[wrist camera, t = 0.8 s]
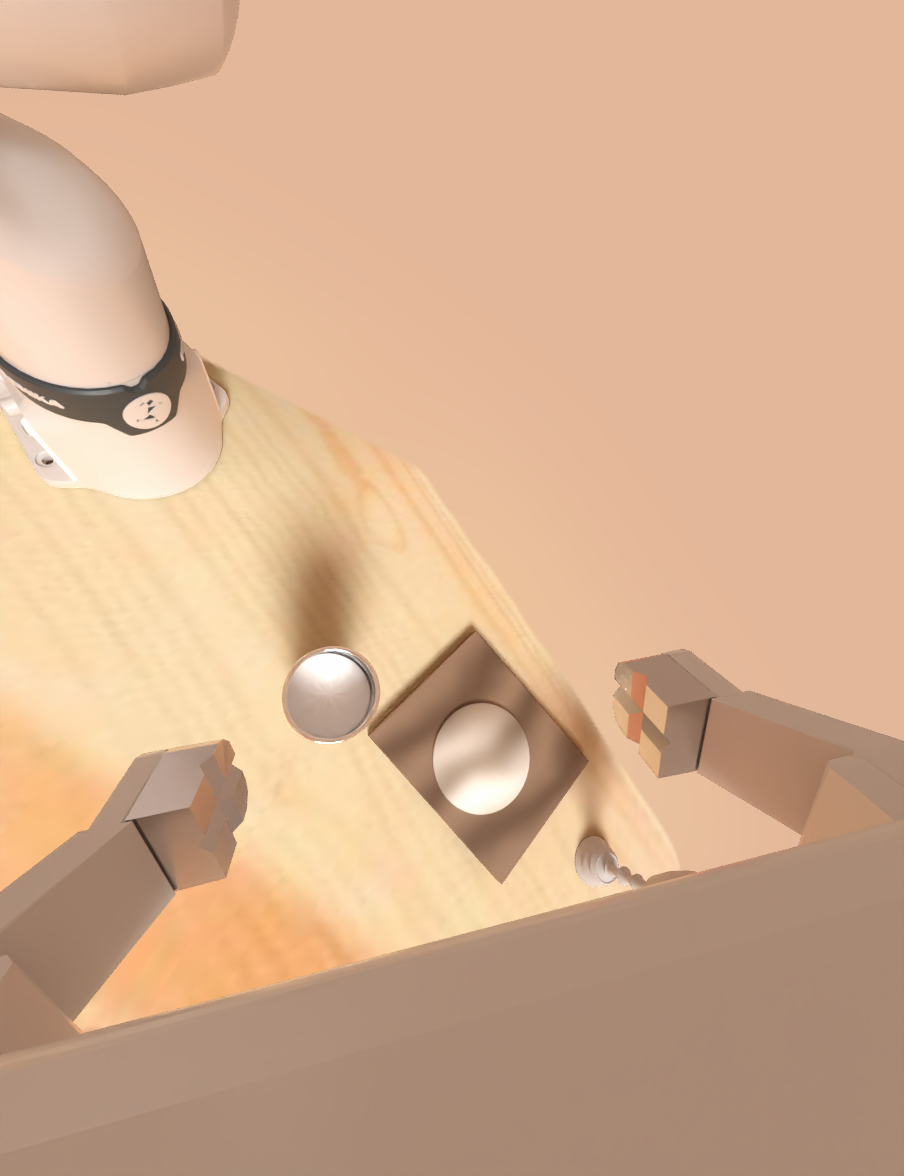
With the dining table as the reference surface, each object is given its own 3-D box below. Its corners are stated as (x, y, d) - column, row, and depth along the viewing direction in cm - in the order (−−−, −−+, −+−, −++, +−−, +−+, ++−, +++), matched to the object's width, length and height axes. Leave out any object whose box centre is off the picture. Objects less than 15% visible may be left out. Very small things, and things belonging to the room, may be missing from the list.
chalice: (555, 857, 47) (695, 937, 31) (593, 811, 50) (740, 862, 33) (594, 913, 47) (755, 1023, 30) (630, 864, 50) (796, 941, 33)
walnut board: (368, 735, 44) (370, 736, 42) (471, 632, 50) (477, 630, 49) (496, 879, 44) (503, 885, 43) (582, 759, 51) (591, 761, 49)
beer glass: (313, 649, 44) (321, 623, 30) (369, 687, 45) (401, 678, 31) (267, 710, 41) (254, 711, 28) (328, 748, 42) (345, 767, 29)
